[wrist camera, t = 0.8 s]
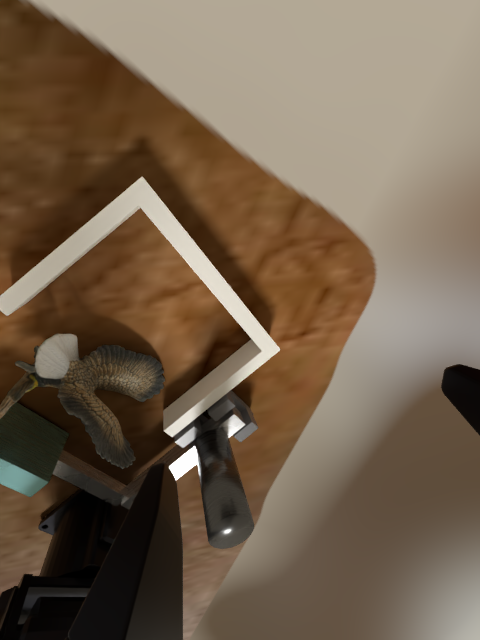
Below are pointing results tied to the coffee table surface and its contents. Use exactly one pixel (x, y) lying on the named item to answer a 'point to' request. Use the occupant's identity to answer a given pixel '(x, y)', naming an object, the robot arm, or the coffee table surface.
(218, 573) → the coffee table surface
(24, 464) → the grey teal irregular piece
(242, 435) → the cradle
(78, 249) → the frame
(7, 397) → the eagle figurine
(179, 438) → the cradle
